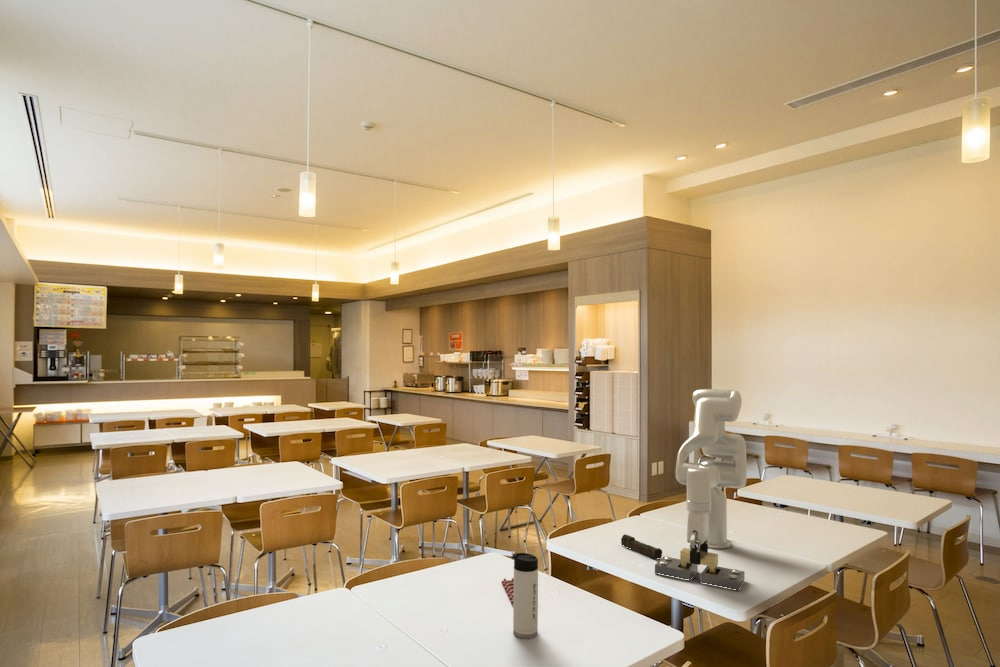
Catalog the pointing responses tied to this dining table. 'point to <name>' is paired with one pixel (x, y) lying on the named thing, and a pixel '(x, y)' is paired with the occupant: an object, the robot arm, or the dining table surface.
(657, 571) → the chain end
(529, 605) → the travel mug
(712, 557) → the link
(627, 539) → the dark brown rod
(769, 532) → the dining table surface
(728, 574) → the block
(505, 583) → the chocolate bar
